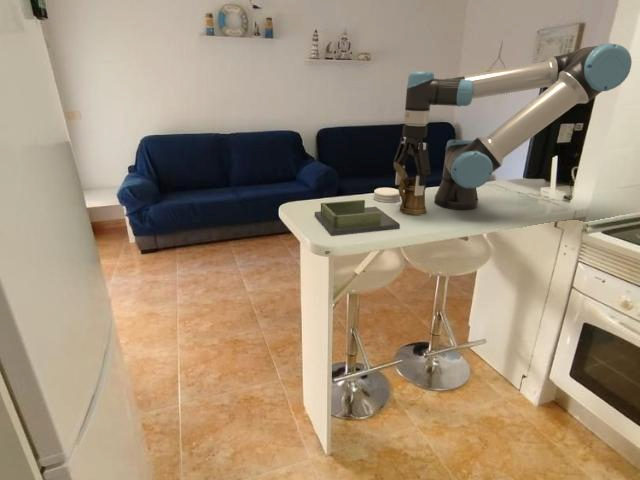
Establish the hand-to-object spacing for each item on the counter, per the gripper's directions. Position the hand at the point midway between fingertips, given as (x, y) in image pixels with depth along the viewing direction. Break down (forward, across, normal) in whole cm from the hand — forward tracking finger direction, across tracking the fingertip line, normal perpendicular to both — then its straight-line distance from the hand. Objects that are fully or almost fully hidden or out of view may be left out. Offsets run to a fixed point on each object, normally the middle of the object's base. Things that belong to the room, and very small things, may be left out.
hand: (408, 189), depth 133 cm
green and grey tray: (+8, +5, -21) cm, 23 cm away
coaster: (+8, -16, 0) cm, 18 cm away
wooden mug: (+8, 0, 0) cm, 8 cm away
